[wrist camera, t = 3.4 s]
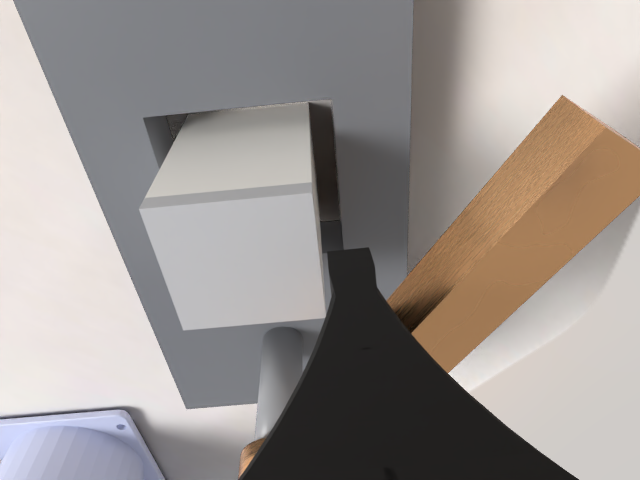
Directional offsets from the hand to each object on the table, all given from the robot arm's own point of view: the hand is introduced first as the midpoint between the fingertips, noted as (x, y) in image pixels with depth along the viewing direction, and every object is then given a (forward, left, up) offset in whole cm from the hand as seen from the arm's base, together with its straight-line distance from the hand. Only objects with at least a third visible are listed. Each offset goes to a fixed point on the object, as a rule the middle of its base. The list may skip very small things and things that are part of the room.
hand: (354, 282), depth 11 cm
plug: (0, +3, -7) cm, 8 cm away
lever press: (-2, +3, -7) cm, 8 cm away
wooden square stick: (-2, -1, 0) cm, 2 cm away
